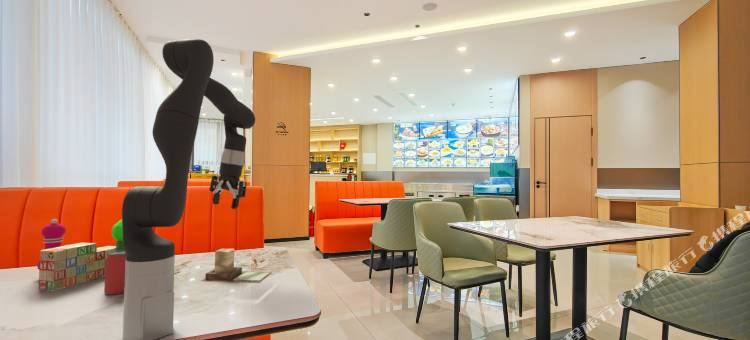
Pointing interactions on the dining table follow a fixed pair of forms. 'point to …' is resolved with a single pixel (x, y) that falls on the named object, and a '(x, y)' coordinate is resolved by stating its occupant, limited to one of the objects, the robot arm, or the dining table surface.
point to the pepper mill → (53, 235)
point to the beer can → (115, 272)
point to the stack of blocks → (71, 265)
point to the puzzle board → (236, 276)
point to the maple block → (224, 261)
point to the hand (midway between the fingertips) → (224, 206)
